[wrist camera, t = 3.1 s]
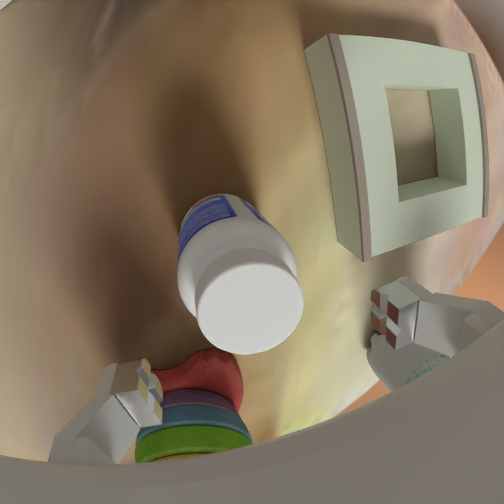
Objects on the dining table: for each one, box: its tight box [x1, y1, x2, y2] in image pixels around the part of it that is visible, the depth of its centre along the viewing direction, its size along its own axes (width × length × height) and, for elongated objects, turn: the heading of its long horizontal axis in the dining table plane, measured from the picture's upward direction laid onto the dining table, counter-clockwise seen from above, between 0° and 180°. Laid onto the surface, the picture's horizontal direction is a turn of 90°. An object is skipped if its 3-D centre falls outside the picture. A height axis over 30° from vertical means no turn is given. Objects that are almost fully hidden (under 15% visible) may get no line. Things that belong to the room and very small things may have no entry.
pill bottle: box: [177, 194, 304, 354], centre depth 15 cm, size 5×5×10 cm
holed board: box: [304, 33, 489, 262], centre depth 17 cm, size 14×14×4 cm
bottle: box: [367, 333, 450, 392], centre depth 17 cm, size 7×7×20 cm
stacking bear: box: [135, 349, 253, 463], centre depth 16 cm, size 11×10×18 cm
